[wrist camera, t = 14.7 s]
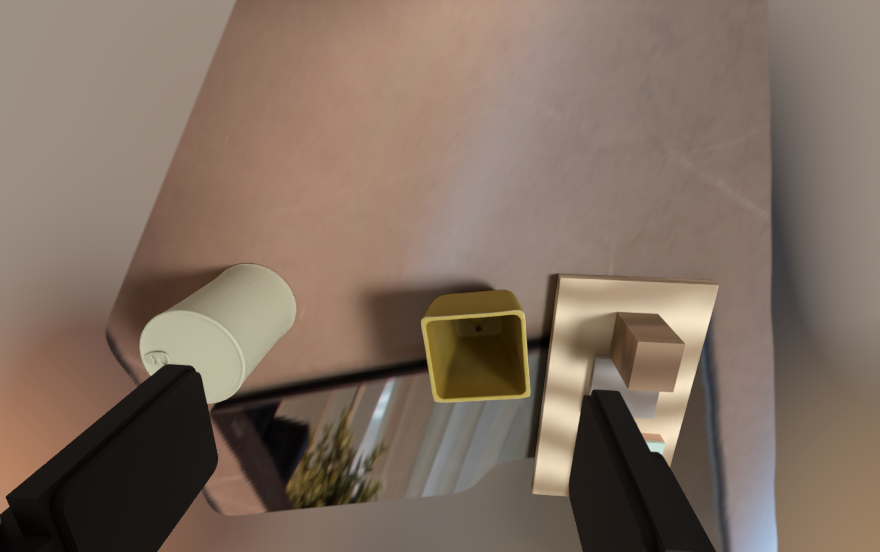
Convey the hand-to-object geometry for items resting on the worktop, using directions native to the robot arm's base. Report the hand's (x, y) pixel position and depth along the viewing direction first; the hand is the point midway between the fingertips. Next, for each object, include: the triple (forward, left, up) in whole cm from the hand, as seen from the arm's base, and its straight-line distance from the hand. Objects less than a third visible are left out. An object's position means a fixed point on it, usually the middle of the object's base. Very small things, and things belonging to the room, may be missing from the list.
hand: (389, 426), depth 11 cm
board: (+22, +18, -33) cm, 44 cm away
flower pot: (+13, +3, -34) cm, 36 cm away
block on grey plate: (+17, +19, -32) cm, 41 cm away
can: (+13, -21, -34) cm, 42 cm away
